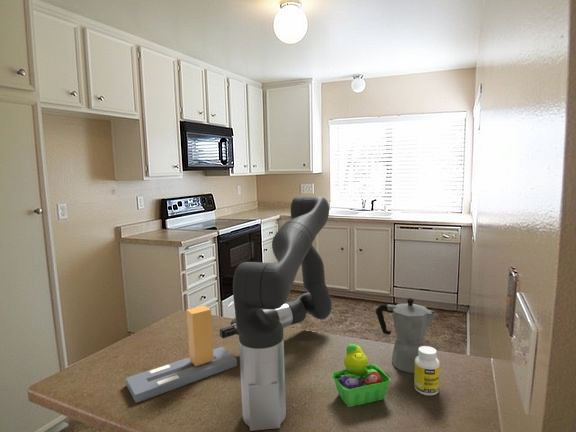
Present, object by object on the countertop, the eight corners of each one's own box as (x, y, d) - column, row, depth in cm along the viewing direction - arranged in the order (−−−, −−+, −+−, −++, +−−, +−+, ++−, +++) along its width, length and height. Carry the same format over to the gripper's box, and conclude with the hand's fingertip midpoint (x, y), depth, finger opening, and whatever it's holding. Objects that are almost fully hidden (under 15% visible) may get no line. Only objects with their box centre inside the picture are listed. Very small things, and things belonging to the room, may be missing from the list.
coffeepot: (437, 360, 101) (438, 295, 98) (435, 378, 92) (437, 307, 90) (378, 350, 107) (379, 289, 104) (372, 366, 98) (372, 300, 96)
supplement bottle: (423, 398, 84) (424, 357, 83) (409, 385, 89) (410, 346, 88) (444, 393, 86) (445, 353, 84) (429, 381, 91) (429, 342, 90)
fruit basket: (345, 412, 80) (344, 362, 79) (329, 389, 89) (328, 344, 87) (392, 401, 83) (392, 353, 82) (372, 380, 92) (372, 337, 90)
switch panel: (222, 353, 108) (221, 346, 108) (237, 365, 101) (236, 358, 100) (126, 385, 93) (125, 377, 92) (135, 403, 85) (135, 394, 85)
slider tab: (207, 354, 102) (204, 305, 101) (213, 360, 99) (210, 309, 97) (189, 360, 99) (186, 309, 98) (195, 366, 96) (192, 314, 94)
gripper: (261, 300, 117) (209, 313, 107) (286, 312, 106) (231, 328, 96) (262, 323, 118) (211, 338, 108) (287, 337, 107) (232, 356, 97)
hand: (220, 334), depth 102 cm, fingers closed
